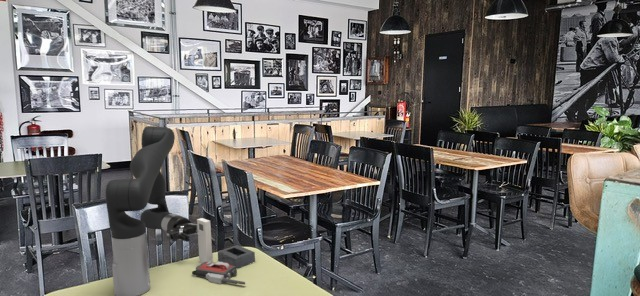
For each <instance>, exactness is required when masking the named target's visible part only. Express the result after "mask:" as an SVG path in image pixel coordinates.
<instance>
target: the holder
mask: <svg viewBox="0 0 640 296" xmlns="http://www.w3.org/2000/svg"><path fill="white" fill-rule="evenodd" d="M255 254H256V252H255V251H253V250H251V249H248V248H246V247H243V246H241V245H238V244H236V245H233V246H230V247H227V248H223V249H221V250H218V251H217V262H218V261H219V262H223V263H224V262H225V263H229V264H230V265H231V266H236V269H237V270H238V269H240V268H243V267H245V266H248V265H251V264H253V262H254V263H256V255H255ZM250 263H251V264H250Z"/></svg>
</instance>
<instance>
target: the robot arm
mask: <svg viewBox="0 0 640 296" xmlns="http://www.w3.org/2000/svg"><path fill="white" fill-rule="evenodd" d="M141 134H142V135H141V148H140V149H139V150H138V151H137V152H136V153H135V155H134V156H133V158H132V159H131V161H130V163H129V168H130V172H131V174H132V175H133V178H119V179H111V180H109V181H108V183H107V185H106V186H105V205H106V210H107V216H108V225H109V230H110V236H111V249H112V257H113V259H112V260H113V262H112V265H111V267H112V268H111V269H112V279H113V280H112V281H113V290H114V291H113V292H114V293H113V294H114V296H140V295H143V294H145V293H147V292H148V291H149V290H150V289H151V280H150V277H151V276H150V266H149V251H148V239H147V238H148V237H147V229H150V230H161V231H163V232H164V233H166V238H167V239H169V240H171V241H173V242H177V241H178V240H179V241H184V242H186V243H188V242H190V236H192V235H198V231H197V230H198V228H197V223H192V222H191V220H190V219H189V218H187V217H184V216H181V215H179V214H177V213H171V212H170V211H169V208H168V203H167V199H166V187H167V186H166V180H165V177H164V175H163V173H162V172H161V169H162V167H163V164H164V162H165V159H166V158H167V156H168V155H169V154H170V152H171V151H172V149H173V147H174V145H175V144H174V143H175V140H176V138H175V132H174V130H173V129H172V128H170V127H166V126H165V127H164V126H152V125H151V126H150V125H148V126H145V127H144V128H143V130H142V133H141ZM148 204H149V205H154V206H155V205H156V207H153V208H152V207H151V208H148V209H145V208H146V207H147V205H148ZM144 209H145V210H144ZM139 211H142V212H141V214H140V217H139V218H140V219H138V218H134V217H133V216H130V215H128V214H127V213H126V212H139ZM212 234H213V229H212V228H211V236H212Z"/></svg>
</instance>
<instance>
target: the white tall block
mask: <svg viewBox="0 0 640 296" xmlns="http://www.w3.org/2000/svg"><path fill="white" fill-rule="evenodd" d="M196 224H197V232H198V234H197V241H198V243H197V245H198V259H199V263H200V264H202V263H203V262H210V261H211V262H212V263H214V262H213V246H212V245H213V243H212V235H211V229H212V227H211V224H212V223H211V220H209V219H206V218H203V217H201V218H197V219H196Z"/></svg>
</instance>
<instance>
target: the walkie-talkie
mask: <svg viewBox="0 0 640 296" xmlns="http://www.w3.org/2000/svg"><path fill="white" fill-rule="evenodd" d="M212 262H213V261H212ZM212 262H211V261H210V262H203V263H200V264H199V265H197V266H196V267H195V270H193V271H191V273H192V274H191V275H194V276H196V277H197V278H204V279H207V281H208V282H209V283H214V284H218V285H222V284H223V283H225V284H226V283H229V284H234V285H237V284H238V285H246V281H243V280H235V279H231V278H232V277H233V276H237V274H238V269H236V266H231V265H230V264H229V263H225V262H224V263H223V262H219V261H218V260H217V261H216V262H213V263H212Z"/></svg>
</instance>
